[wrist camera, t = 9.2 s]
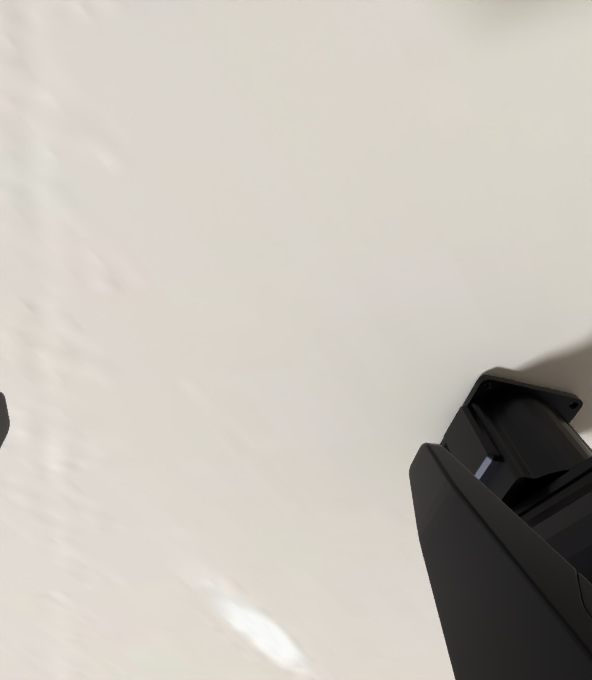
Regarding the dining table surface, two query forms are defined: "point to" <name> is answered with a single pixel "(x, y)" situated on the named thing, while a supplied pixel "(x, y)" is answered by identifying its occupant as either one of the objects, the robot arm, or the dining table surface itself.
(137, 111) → the dining table surface
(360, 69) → the dining table surface
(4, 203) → the dining table surface
